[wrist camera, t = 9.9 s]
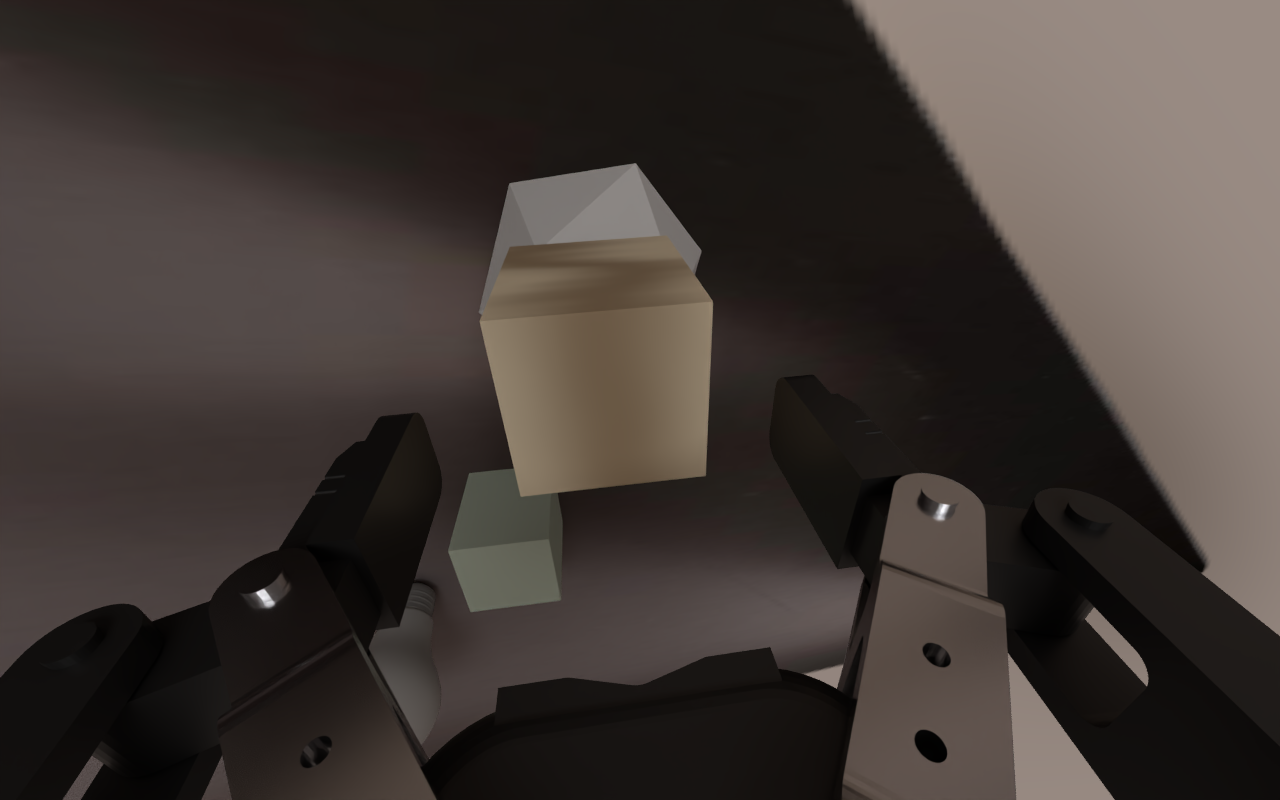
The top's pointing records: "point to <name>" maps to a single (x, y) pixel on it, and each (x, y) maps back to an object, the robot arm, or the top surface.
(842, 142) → the top surface
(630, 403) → the maple block
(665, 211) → the die
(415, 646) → the lightbulb
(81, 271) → the top surface
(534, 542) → the sage block
